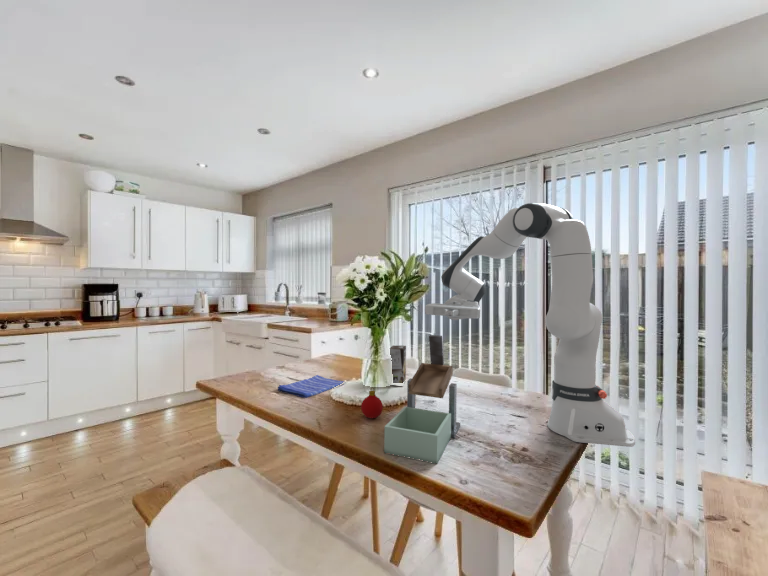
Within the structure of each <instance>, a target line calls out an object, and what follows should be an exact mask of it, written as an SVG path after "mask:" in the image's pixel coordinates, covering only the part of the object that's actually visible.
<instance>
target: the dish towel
mask: <svg viewBox="0 0 768 576" xmlns="http://www.w3.org/2000/svg"><path fill="white" fill-rule="evenodd" d="M343 382H345V381H342V380H338V379H332V378H326V377H323V376H321V375H319V374H317V375H313V376H312V377H310V378H307V379H303V380H301V379H300V380H299V381H295V382H292V383H288V384H281V385H280V384H279V386H278V387H277V390H278V392H281V391H282V392H281V393H285V394H289V395H293V396H297V397H299V398H303V399H305V398H306V399H308V398H310V397H313V396H316V395H319V394H321V393H325V392H328V391H329V390H333V389H335V388H334V387H336V386H338V385H340V384H342V383H343ZM332 388H333V389H332ZM336 388H337V387H336Z"/></svg>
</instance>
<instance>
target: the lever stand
mask: <svg viewBox="0 0 768 576" xmlns="http://www.w3.org/2000/svg"><path fill="white" fill-rule="evenodd" d="M411 380H412V378H409V379H408V380H407V384H406V385H407V387H406V388H407V389H406V390H407V393H406V394H407V398H406V407H411V408H416V395H414V394H409V386H408V385H409V383H410V381H411ZM457 386H458V385H457V383H453V382H451V383H449V385H448V413H451V439H455V438H456V436H457V434H458V432H459V430H460V428H461V422H460V421H459V422H457V389H458V388H457Z"/></svg>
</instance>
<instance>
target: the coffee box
mask: <svg viewBox="0 0 768 576" xmlns="http://www.w3.org/2000/svg"><path fill="white" fill-rule="evenodd" d="M389 349H390V355H391V358H392V360H391V361H392V374H393V383H403V382H404V381H405V380H406V379H407V346H406V345H391V346H390V348H389ZM405 382H406V381H405Z"/></svg>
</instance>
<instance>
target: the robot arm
mask: <svg viewBox="0 0 768 576" xmlns="http://www.w3.org/2000/svg"><path fill="white" fill-rule="evenodd" d="M527 238H535V239H539V240H546V241H547V242H548V244H549V247H550V248H549V249H550V266H551V290H550V298H549V307H548V311H547V314H546V315H545V320H544V321H545V322H544V323H545V327H546V329H547V330H548V332H549V333H550V334H551V335H552V336H553V337H555V338H557V339H559V340H558V344H557V347H556V350H555V352H554V356H553V357H554V358H553V362H554V363H553V380H552V383H551V398H552V403H551V404H552V405H551V409H550V415H549V418H548V420H547V421H548V422H547V428H548V429H549V430H551V431H552V432H554V433H556V434H559V435H561V436H563V437H565V438H567V439H569V440H570V441H572V442H575V443H584V444H594V445H595V444H597V445H607V446H617V447H629V448H633V447H635V446H636V437H635V436H634V434H633V433H632V432H631V431H630V430H629V429H628V428H626V424H625V423H626V422H625V420H624V418H623V416H622V414H621V413H620V412H619V410H617V409H615V408H614V407H613V406H612V405H610V404H609V403H608V402H607V401H606V398H608V393H606V391H605V390H603V389H602V388H601V387H600V386H599V385H596V363H597V362H596V361H597V359H596V358H597V354H598V353H597V352H598V348H599V342H600V337H601V336H600V335H601V328H602V327H601V326H602V323H603V314H602V311H601V310H600V308H598V307H597V306H596V305H594V303H591V294H592V287H593V284H594V271H593V270H594V269H593V255H592V254H593V253H592V247H591V246H592V245H591V241H590V236H589V231H588V228H587V225H586V224H585V223H584V222H583V221H582V220H578V219H574V216H573V215H572V214H571V212H570V211H568V210H567V209H565V208H563V207H558V206H555V205H551V204H547V203H537V202H529V203H525V204H522V205H520V206H519V207H514V208H512V209H510V210H509V211H507V213H505V214H504V216H503V217H502V218H500V221H498V223H497V224H496V226H495V227H494V229H493V230H492V231H491V232H490V233H489V234H487V235H485V236H483V235H482V236H481V235H480V236H479V237H477V238H476V239H475V240H473V242H471V244H470V245H469V246H467V247H466V249H465V250H464V251H463V252H462V253H461V254H460V255H459V256H458V257H457V259H455V261H454V262H452V263H451V264H450V265H449V266H447V267H446V268H445V270H443V272H442V274H441V276H440V277H441V281H442V285H443V286H445V287H446V288H448V289H450V290H452V291H453V292H455V293H456V294H455V295H454V296H453V295H452V297H449V298H448V299H447V300H446V301H445V302H444V303H438V302H437V303H436V302H435V303H428V304H426V305H425V307H424V312H425V313H424V314H425V315H428V316H439V317H441V316H443V317H446V318H447V319H449V320H451V321H459V320H465V319H470V320H471V319H480V317H481V306H480V304H479V303H480V301H481V300H482V299H483V297H484V295H485V293H486V284H485V282H483V281H482V280H481V279H479V278H477V277H476V276H474V275H473V274H471V273H470V272H469V271H467V270H465V268H464V266H465V265H466V264H467V263H469V261H470V260H471V259H472V258H473V257H476V256H481V257H487V258H491V259H496V260H503V259H507V258H511V257H512V256H513V255H514V254H515V253H516V252H517V251H518V249H519V248H520V247H521V245H522V244H523V243H524V241H525V240H526V239H527Z"/></svg>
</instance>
